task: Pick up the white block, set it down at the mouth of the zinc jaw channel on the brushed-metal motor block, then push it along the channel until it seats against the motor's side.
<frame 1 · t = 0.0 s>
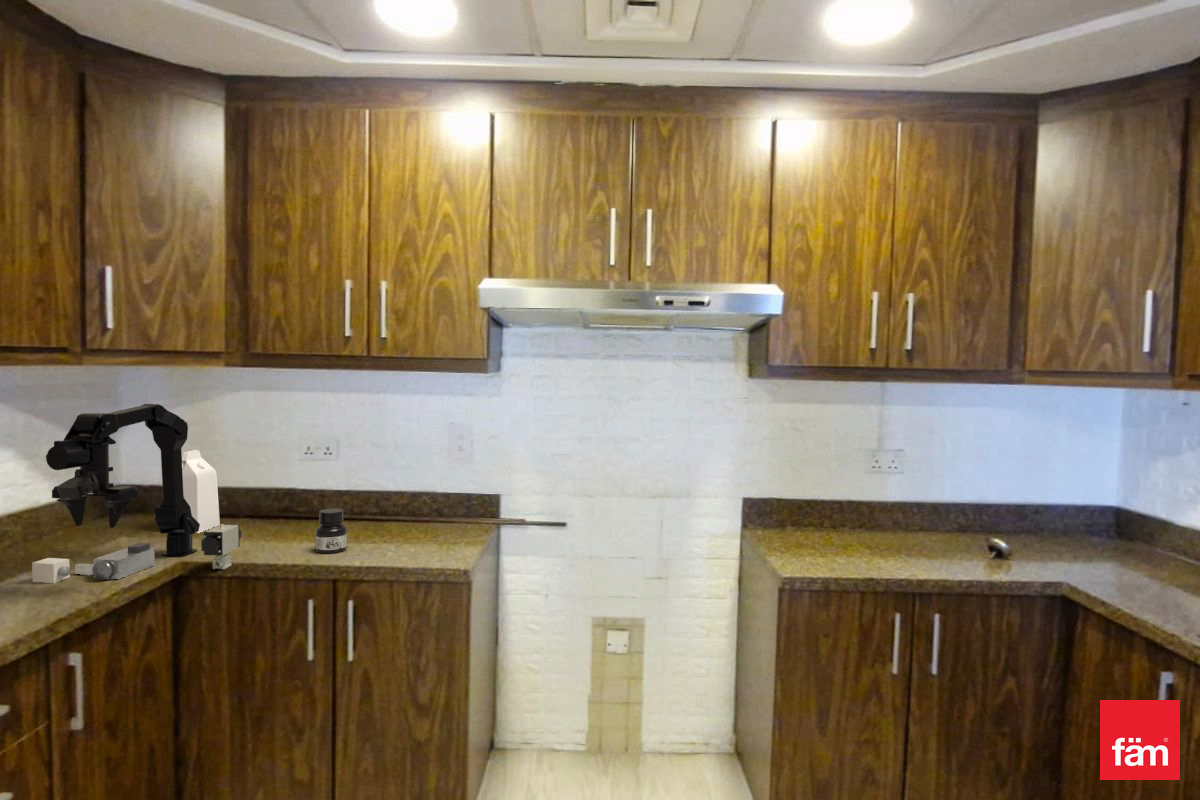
hand: (95, 526, 169), 15 cm above the worktop, tool pointing down, fingers open, 9 cm apart
milk: (192, 529, 226), on the worktop
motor: (125, 571, 180), on the worktop
ink bottle: (331, 550, 205), on the worktop
pneumatic valve: (220, 568, 185), on the worktop
white block: (51, 580, 172), on the worktop
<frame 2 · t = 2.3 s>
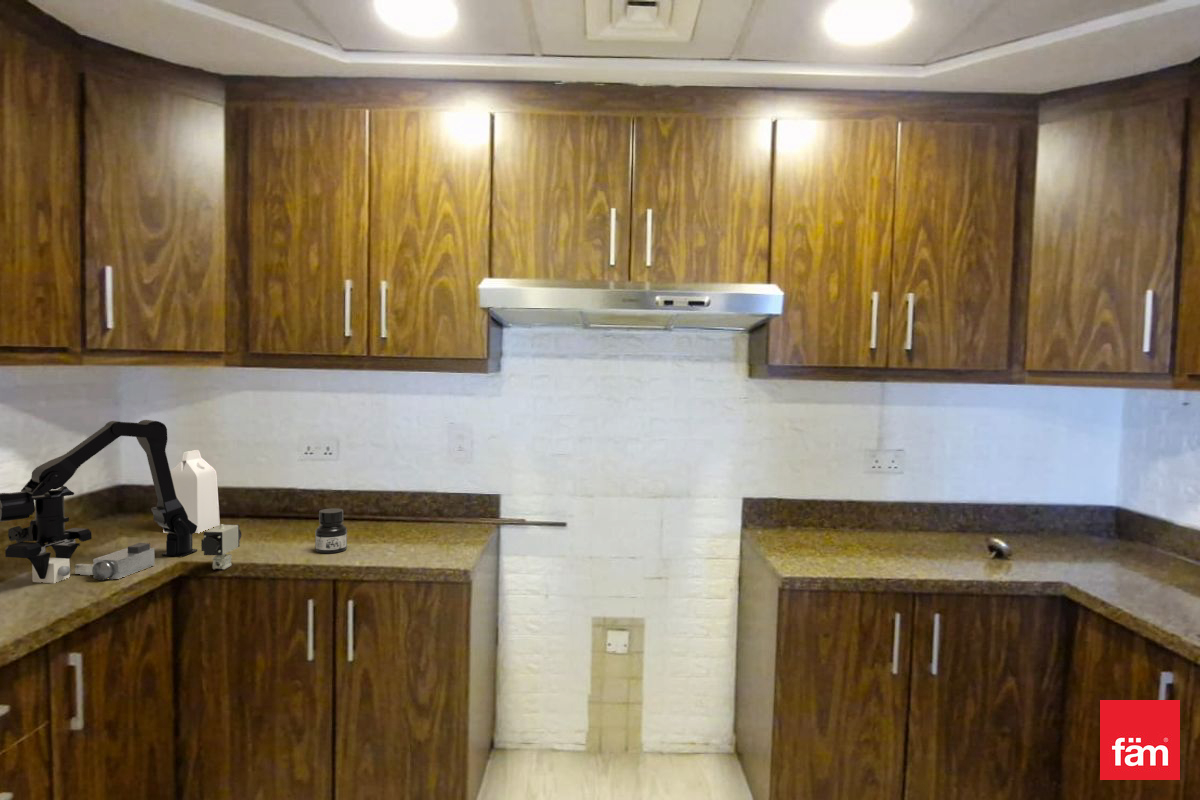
hand: (51, 575, 172), 1 cm above the worktop, tool pointing down, fingers closed on white block, 4 cm apart
white block: (51, 579, 172), on the worktop, touching gripper
everything else where it was.
when the fingers open (2 cm above the worktop, at t = 6.2 s): white block drops 1 cm, on the worktop.
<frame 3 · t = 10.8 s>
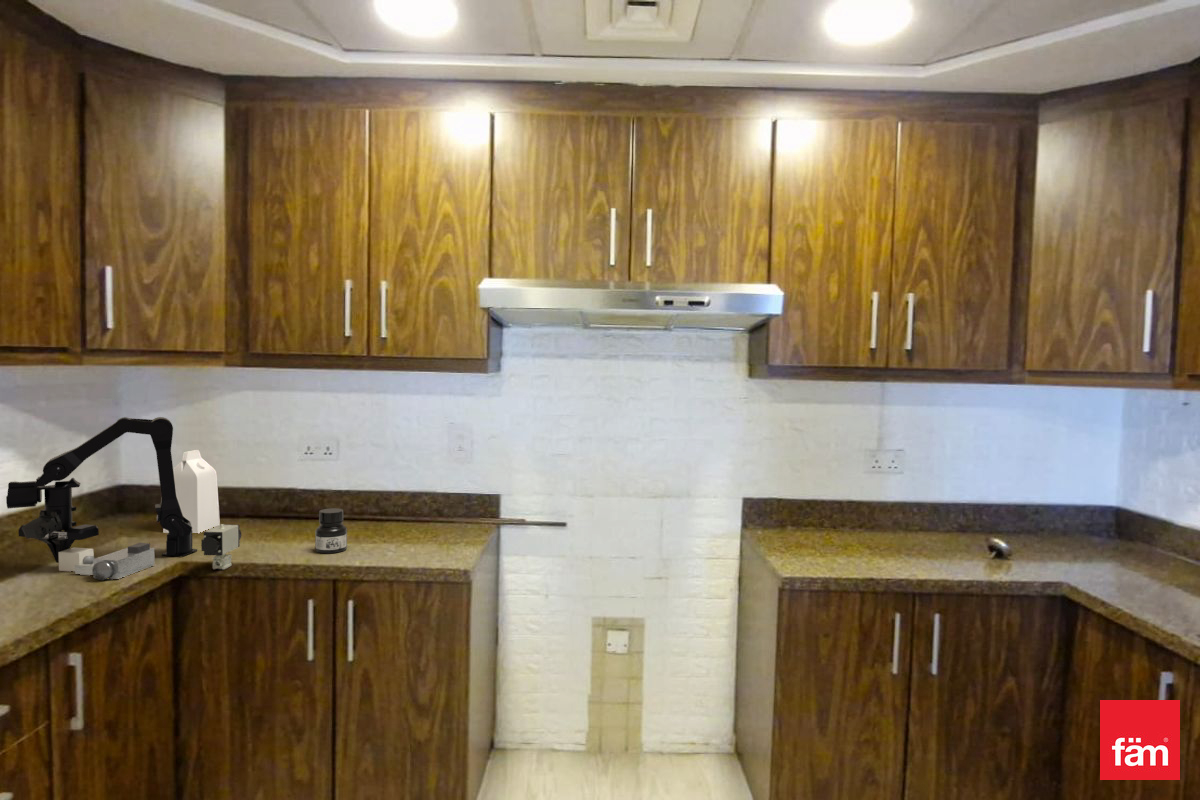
hand: (59, 562, 182), 1 cm above the worktop, tool pointing down, fingers closed
white block: (76, 568, 181), on the worktop, touching gripper
everything else where it was.
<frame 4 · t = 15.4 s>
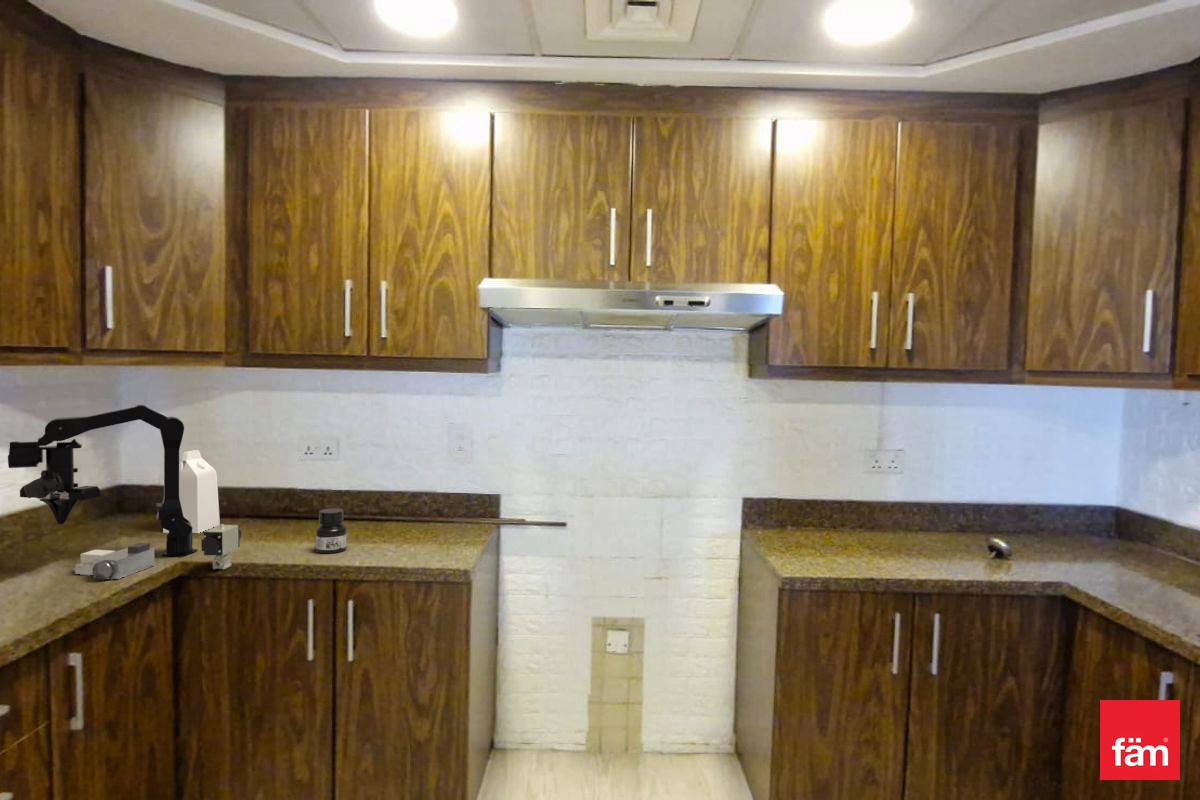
hand: (61, 523, 181), 12 cm above the worktop, tool pointing down, fingers closed
white block: (98, 570, 181), on the worktop
everything else where it was.
at the end: white block 0.6 cm from the target spot, on the worktop; white block tilted 0°; the gripper is holding nothing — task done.
